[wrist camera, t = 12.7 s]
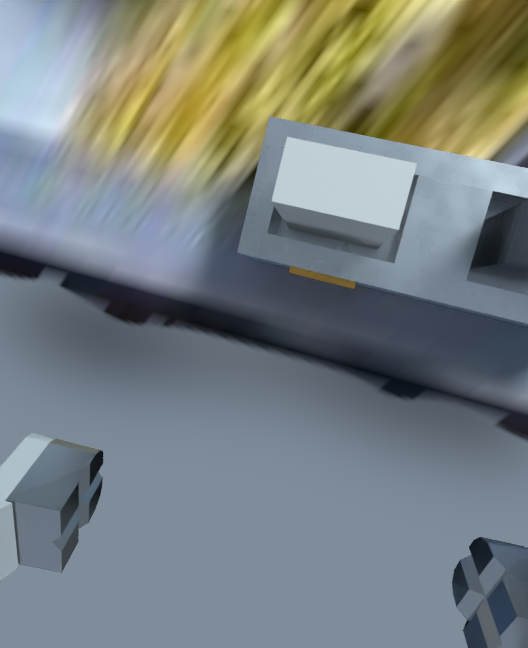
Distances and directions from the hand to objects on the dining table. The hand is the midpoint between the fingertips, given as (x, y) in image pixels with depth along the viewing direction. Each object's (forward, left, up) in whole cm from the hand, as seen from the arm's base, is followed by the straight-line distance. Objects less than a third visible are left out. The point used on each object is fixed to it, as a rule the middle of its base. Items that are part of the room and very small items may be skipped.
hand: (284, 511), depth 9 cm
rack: (+5, +10, -22) cm, 24 cm away
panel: (-1, +10, -21) cm, 23 cm away
